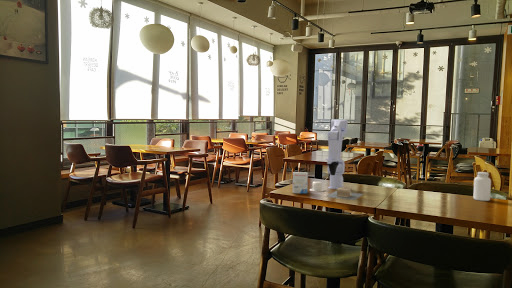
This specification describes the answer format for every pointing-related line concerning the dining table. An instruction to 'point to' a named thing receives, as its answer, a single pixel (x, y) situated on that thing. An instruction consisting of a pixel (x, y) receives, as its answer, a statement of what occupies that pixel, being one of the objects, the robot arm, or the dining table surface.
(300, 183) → the ink box
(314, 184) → the espresso cup
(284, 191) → the dining table surface
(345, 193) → the beech block
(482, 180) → the pill bottle
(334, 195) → the mat
